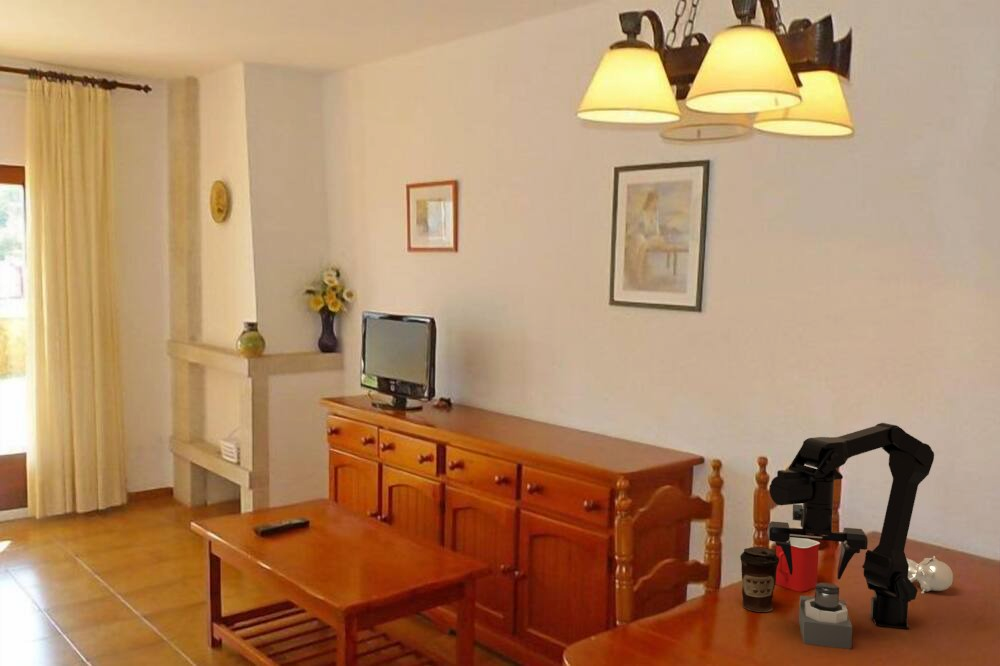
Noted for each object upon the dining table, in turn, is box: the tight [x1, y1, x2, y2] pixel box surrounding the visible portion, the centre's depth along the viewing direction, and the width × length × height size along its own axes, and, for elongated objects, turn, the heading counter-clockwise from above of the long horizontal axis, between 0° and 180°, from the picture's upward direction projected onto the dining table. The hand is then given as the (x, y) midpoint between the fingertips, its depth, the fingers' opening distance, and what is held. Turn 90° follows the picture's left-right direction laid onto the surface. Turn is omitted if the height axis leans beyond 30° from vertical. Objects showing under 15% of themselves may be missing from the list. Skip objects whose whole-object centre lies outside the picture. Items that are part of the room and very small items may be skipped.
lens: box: [814, 582, 840, 612], centre depth 181 cm, size 5×5×6 cm
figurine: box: [906, 555, 954, 594], centre depth 213 cm, size 11×7×15 cm
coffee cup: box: [739, 546, 780, 613], centre depth 197 cm, size 9×8×13 cm
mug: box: [775, 537, 821, 593], centre depth 211 cm, size 12×8×11 cm
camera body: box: [798, 595, 853, 650], centre depth 183 cm, size 9×12×6 cm
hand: (814, 576), depth 181 cm, fingers open, 9 cm apart
